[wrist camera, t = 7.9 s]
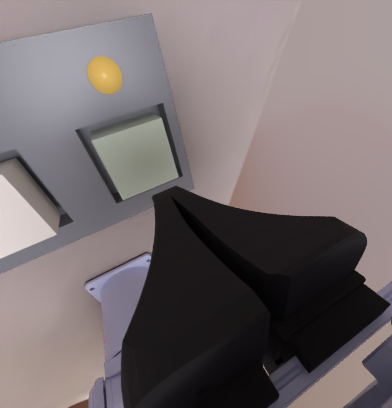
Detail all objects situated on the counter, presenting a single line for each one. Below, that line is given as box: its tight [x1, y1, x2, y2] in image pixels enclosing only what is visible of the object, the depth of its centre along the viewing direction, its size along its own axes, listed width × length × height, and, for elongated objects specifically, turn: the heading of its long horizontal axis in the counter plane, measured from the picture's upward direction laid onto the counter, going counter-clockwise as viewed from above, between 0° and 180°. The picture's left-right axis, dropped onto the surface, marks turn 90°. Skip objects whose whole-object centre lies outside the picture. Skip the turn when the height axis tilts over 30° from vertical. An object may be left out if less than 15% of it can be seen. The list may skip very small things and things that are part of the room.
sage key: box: [90, 112, 179, 200], centre depth 16 cm, size 5×5×3 cm
